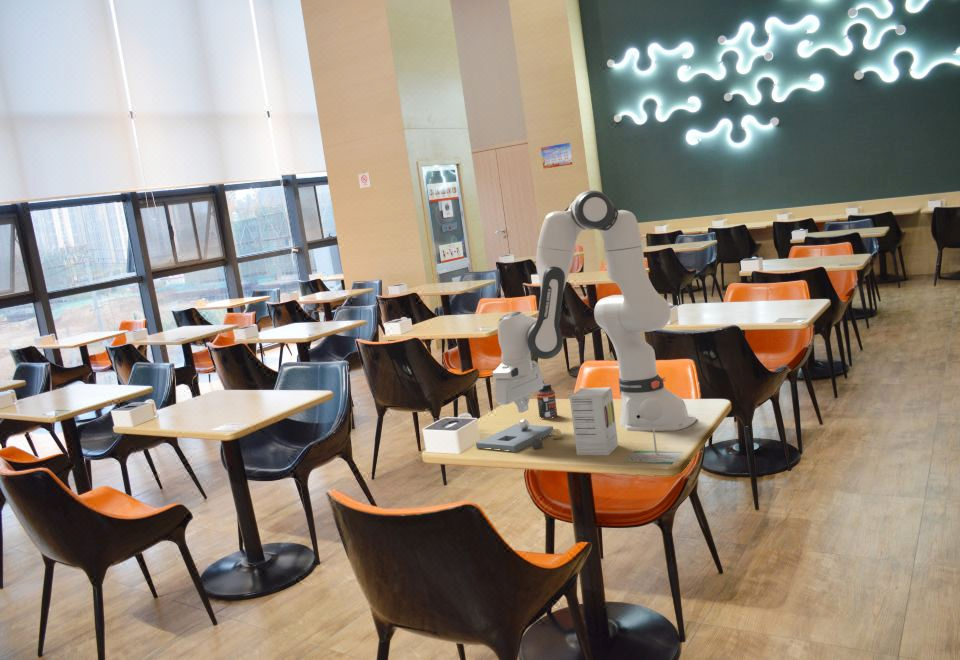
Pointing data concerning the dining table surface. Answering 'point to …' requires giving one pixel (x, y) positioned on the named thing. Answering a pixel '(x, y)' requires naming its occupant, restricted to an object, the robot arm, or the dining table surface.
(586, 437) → the supplement box
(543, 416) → the supplement bottle
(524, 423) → the steel ball
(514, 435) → the hole plate
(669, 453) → the dining table surface
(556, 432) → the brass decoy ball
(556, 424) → the dining table surface
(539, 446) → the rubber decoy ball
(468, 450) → the dining table surface
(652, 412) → the lollipop
